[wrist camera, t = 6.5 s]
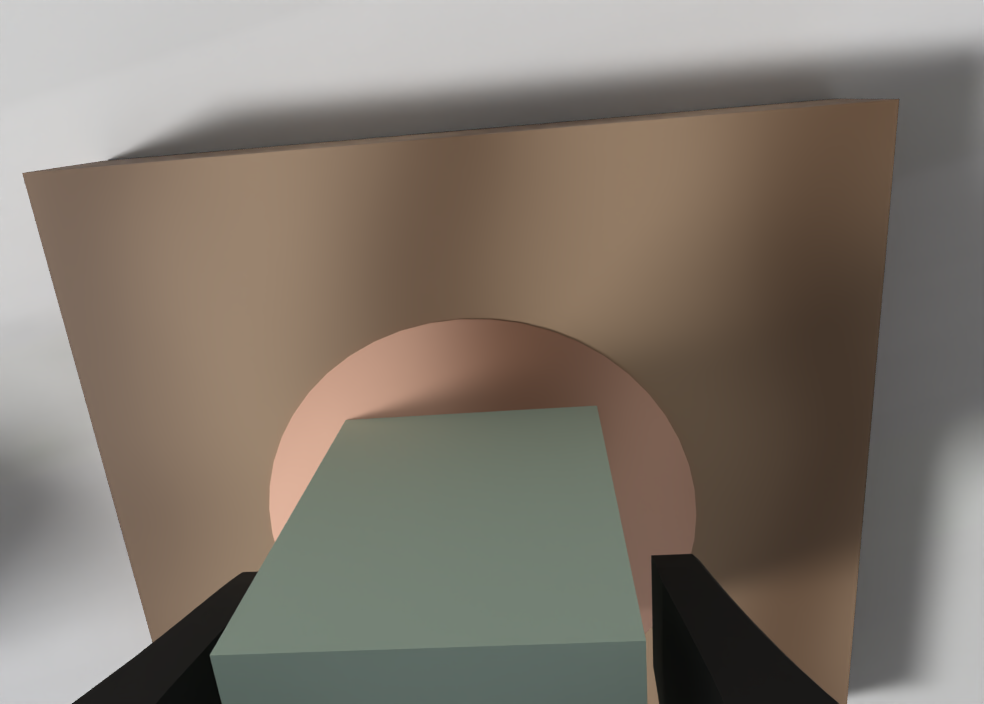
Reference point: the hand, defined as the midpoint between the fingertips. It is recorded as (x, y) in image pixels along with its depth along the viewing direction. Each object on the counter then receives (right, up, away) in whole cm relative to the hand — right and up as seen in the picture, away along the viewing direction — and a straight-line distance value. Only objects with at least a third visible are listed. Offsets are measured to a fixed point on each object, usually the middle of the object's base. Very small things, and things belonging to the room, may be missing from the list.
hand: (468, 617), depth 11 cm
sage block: (0, +1, +2) cm, 3 cm away
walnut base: (0, +2, +5) cm, 5 cm away
